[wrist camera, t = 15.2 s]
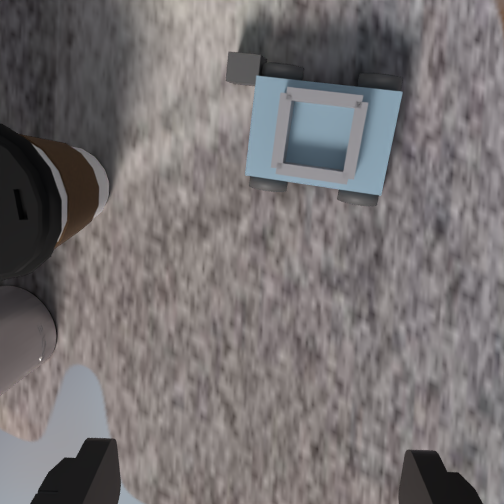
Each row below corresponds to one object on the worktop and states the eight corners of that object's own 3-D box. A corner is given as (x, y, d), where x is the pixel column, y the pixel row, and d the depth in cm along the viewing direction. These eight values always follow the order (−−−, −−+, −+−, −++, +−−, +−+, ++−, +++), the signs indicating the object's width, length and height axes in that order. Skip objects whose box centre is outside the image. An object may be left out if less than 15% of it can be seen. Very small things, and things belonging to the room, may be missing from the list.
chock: (234, 83, 35) (225, 80, 33) (236, 56, 34) (228, 51, 32) (263, 87, 35) (257, 84, 32) (266, 59, 34) (260, 54, 32)
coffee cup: (126, 117, 38) (29, 112, 26) (142, 241, 40) (61, 286, 29) (16, 125, 40) (-116, 124, 29) (38, 242, 43) (-74, 283, 32)
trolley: (253, 182, 37) (238, 191, 32) (267, 66, 34) (253, 57, 29) (375, 201, 35) (379, 213, 30) (400, 80, 32) (408, 73, 28)
